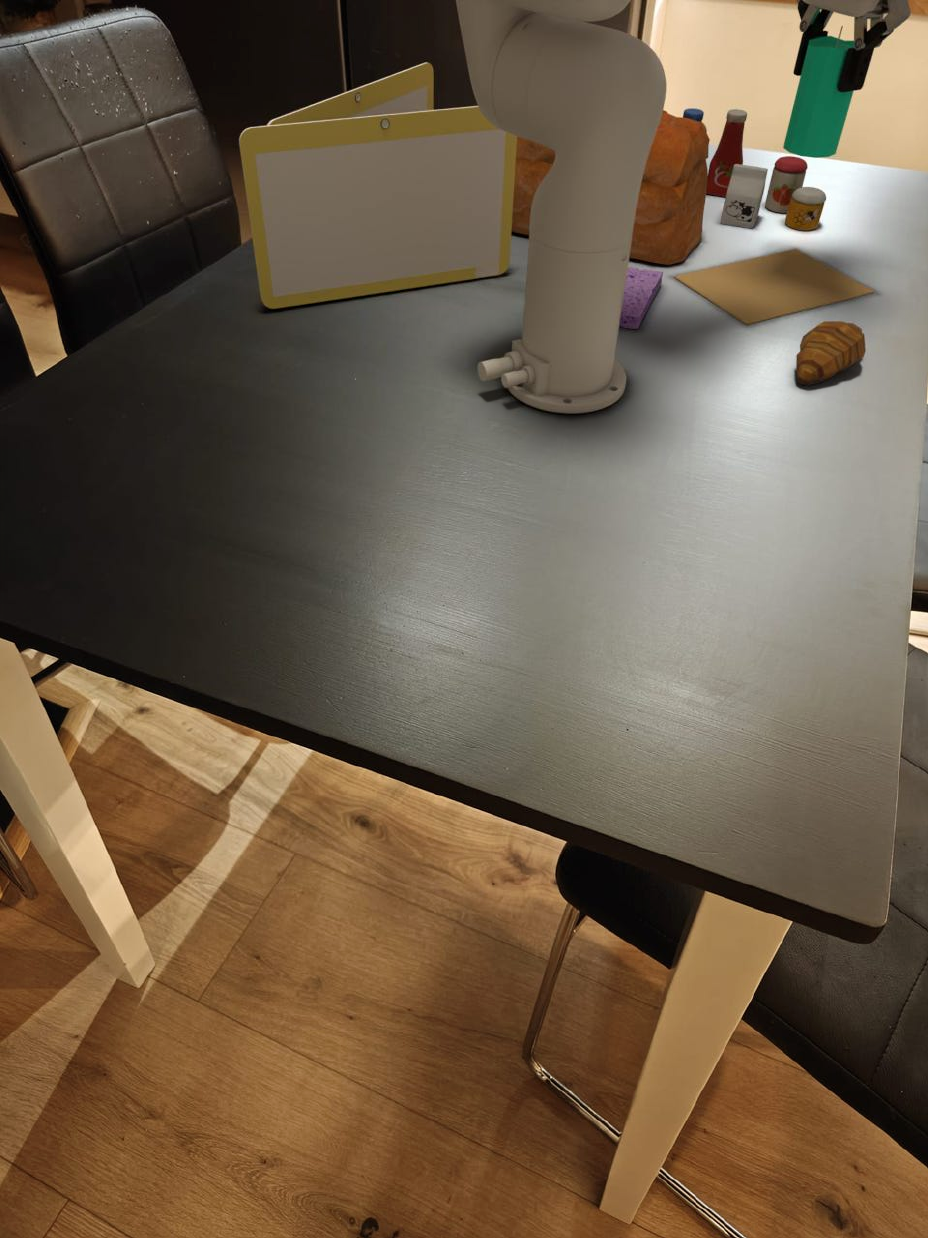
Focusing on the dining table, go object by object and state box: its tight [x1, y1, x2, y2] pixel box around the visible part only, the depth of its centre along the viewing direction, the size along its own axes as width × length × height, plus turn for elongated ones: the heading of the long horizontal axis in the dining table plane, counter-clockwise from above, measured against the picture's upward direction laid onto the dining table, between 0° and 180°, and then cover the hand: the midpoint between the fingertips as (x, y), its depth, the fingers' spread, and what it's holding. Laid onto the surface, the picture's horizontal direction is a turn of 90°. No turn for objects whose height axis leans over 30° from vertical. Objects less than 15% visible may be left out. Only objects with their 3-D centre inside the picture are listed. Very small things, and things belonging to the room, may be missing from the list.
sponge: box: [619, 266, 664, 330], centre depth 107 cm, size 7×13×2 cm, turn 159°
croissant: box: [795, 320, 867, 386], centre depth 96 cm, size 14×7×5 cm, turn 141°
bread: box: [511, 112, 711, 266], centre depth 118 cm, size 14×27×15 cm, turn 63°
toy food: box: [663, 107, 827, 231], centre depth 126 cm, size 27×13×12 cm, turn 67°
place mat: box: [673, 248, 875, 326], centre depth 112 cm, size 20×14×1 cm
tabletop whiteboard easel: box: [238, 61, 517, 310], centre depth 105 cm, size 35×22×20 cm, turn 149°
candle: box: [782, 25, 855, 159], centre depth 99 cm, size 6×6×12 cm
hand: (827, 80), depth 98 cm, fingers closed on candle, 6 cm apart
